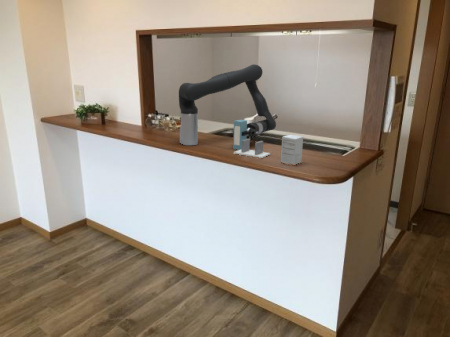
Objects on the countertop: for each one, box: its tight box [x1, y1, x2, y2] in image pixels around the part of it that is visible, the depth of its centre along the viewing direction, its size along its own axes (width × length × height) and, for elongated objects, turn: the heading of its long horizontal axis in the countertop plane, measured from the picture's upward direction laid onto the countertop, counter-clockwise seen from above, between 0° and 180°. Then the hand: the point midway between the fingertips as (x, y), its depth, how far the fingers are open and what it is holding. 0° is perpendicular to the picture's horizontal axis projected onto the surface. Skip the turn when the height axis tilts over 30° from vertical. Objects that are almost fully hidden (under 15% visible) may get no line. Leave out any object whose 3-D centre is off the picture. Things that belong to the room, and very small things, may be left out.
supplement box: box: [280, 134, 304, 165], centre depth 171 cm, size 7×7×13 cm
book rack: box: [233, 138, 271, 158], centre depth 184 cm, size 16×9×7 cm, turn 57°
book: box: [232, 119, 248, 151], centre depth 196 cm, size 4×6×15 cm
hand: (238, 133), depth 194 cm, fingers closed on book, 4 cm apart
